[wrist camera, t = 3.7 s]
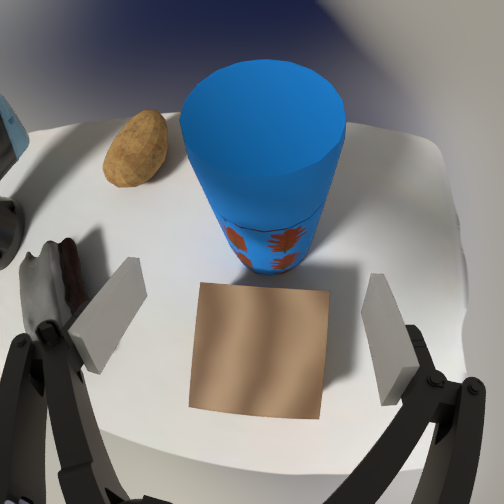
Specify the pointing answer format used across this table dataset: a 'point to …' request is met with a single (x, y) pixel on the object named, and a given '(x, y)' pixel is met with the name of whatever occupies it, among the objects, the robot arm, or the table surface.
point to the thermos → (265, 156)
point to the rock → (51, 285)
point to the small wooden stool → (259, 351)
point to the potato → (137, 150)
